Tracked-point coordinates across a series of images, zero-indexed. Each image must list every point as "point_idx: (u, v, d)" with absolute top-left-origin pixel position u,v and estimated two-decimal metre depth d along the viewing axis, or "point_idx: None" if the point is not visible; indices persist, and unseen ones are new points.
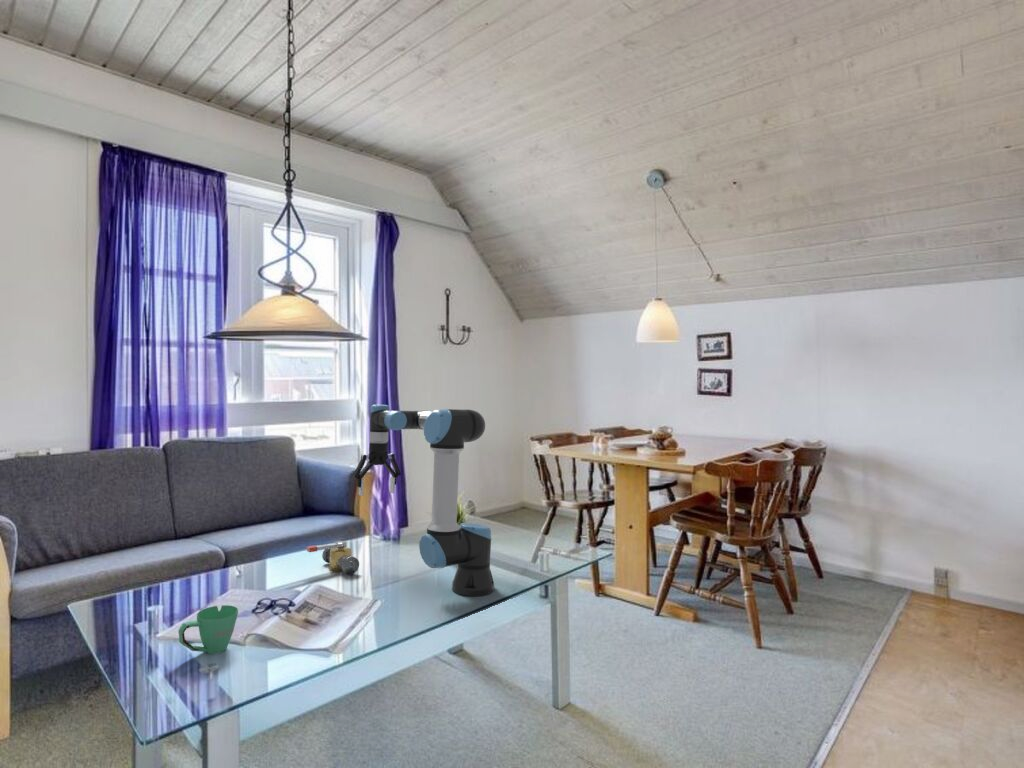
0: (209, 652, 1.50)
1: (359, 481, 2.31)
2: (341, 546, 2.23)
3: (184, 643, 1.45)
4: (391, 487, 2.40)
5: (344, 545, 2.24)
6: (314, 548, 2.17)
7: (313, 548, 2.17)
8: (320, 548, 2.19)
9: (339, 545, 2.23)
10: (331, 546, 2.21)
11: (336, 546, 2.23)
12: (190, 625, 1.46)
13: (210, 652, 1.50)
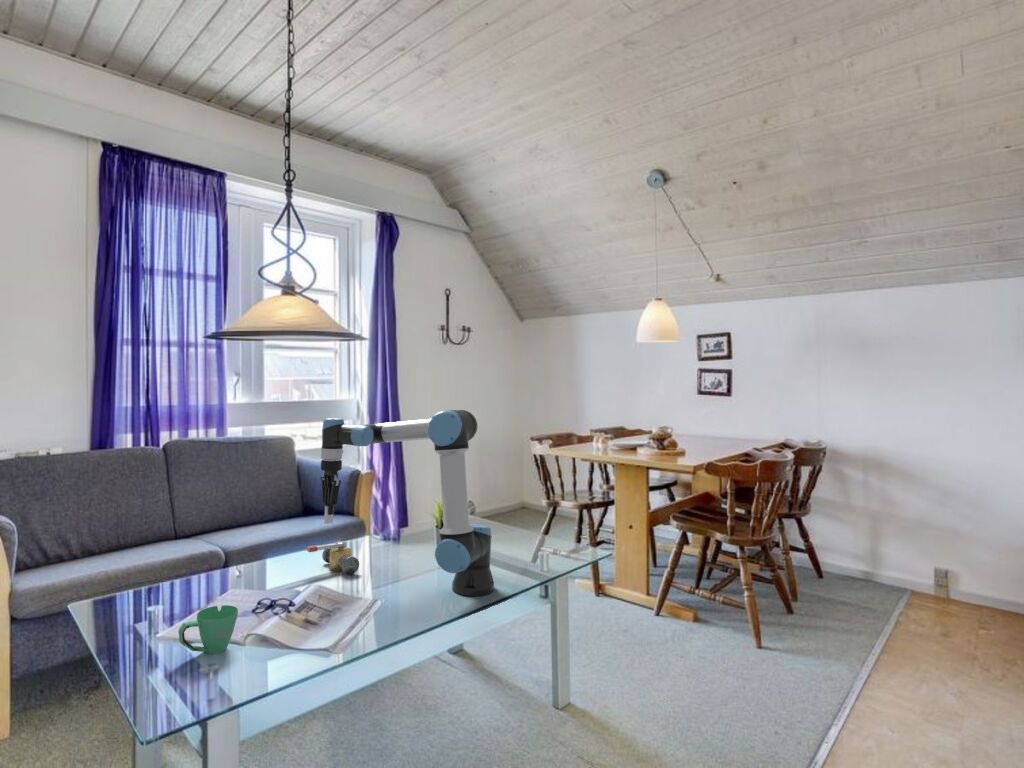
0: (209, 652, 1.50)
1: None
2: (341, 546, 2.23)
3: (184, 643, 1.45)
4: None
5: (344, 545, 2.24)
6: (314, 548, 2.17)
7: (313, 548, 2.17)
8: (320, 548, 2.19)
9: (339, 545, 2.23)
10: (331, 546, 2.21)
11: (336, 546, 2.23)
12: (190, 625, 1.46)
13: (210, 652, 1.50)
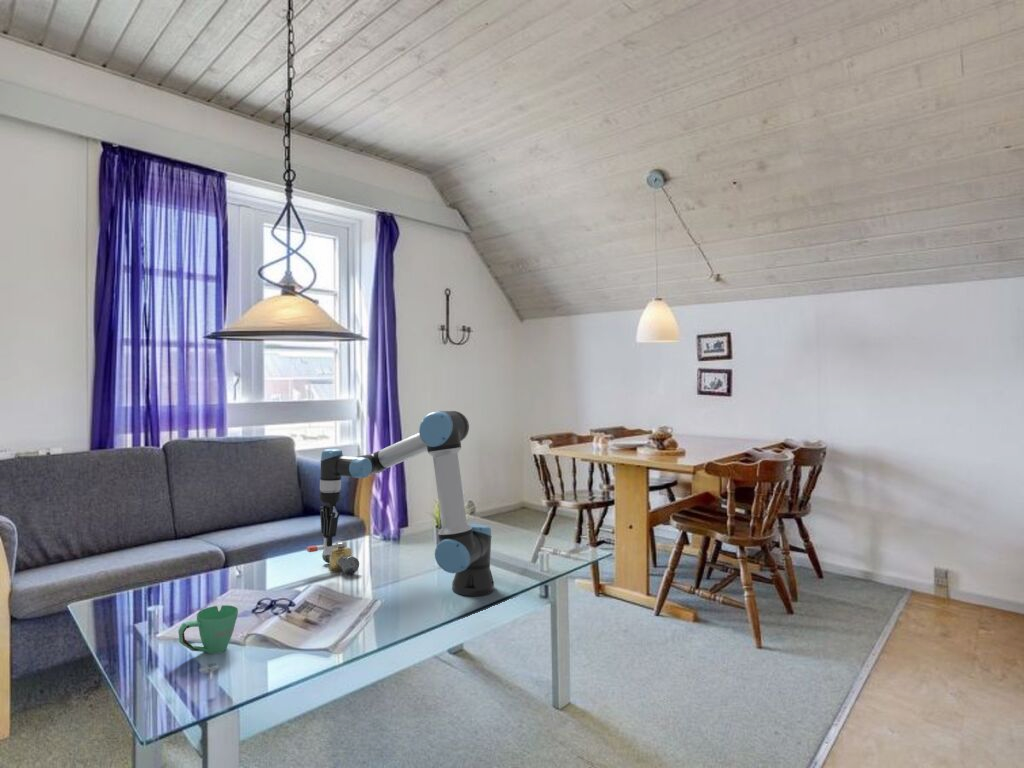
0: (209, 652, 1.50)
1: None
2: (341, 546, 2.23)
3: (184, 643, 1.45)
4: None
5: (344, 545, 2.24)
6: (314, 548, 2.17)
7: (313, 548, 2.17)
8: (320, 548, 2.19)
9: (339, 545, 2.23)
10: None
11: (336, 546, 2.23)
12: (190, 625, 1.46)
13: (210, 652, 1.50)
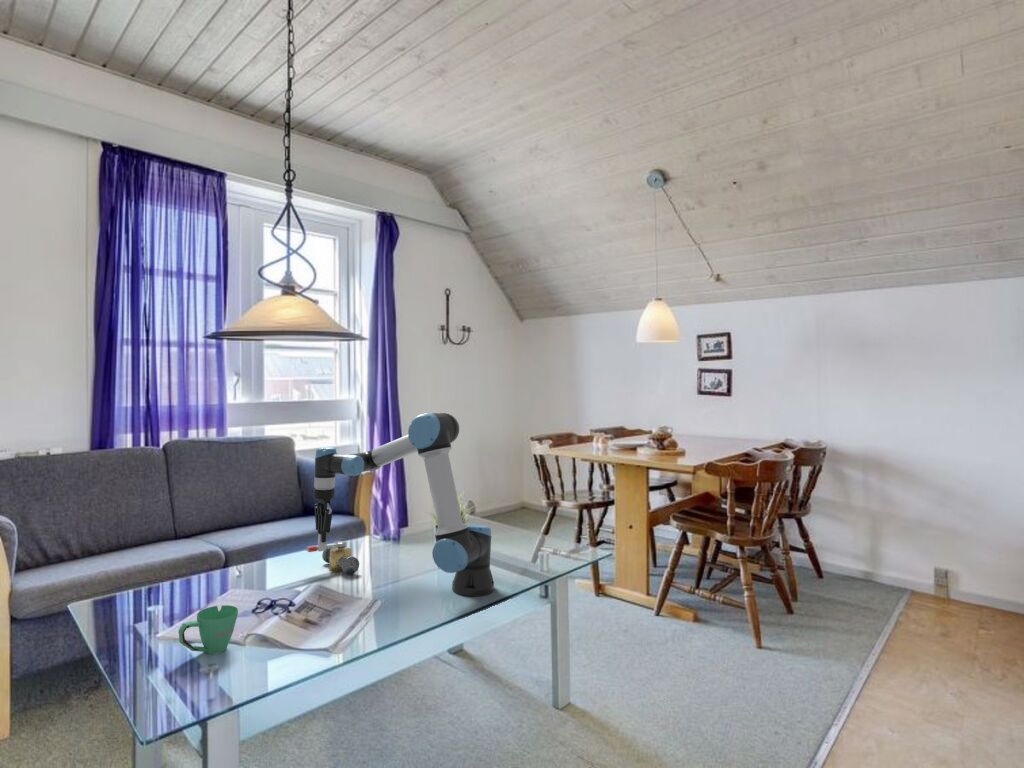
0: (209, 652, 1.50)
1: None
2: (341, 546, 2.23)
3: (184, 643, 1.45)
4: None
5: (344, 545, 2.24)
6: (314, 548, 2.17)
7: (313, 548, 2.17)
8: None
9: (339, 545, 2.23)
10: (331, 546, 2.21)
11: (336, 546, 2.23)
12: (190, 625, 1.46)
13: (210, 652, 1.50)
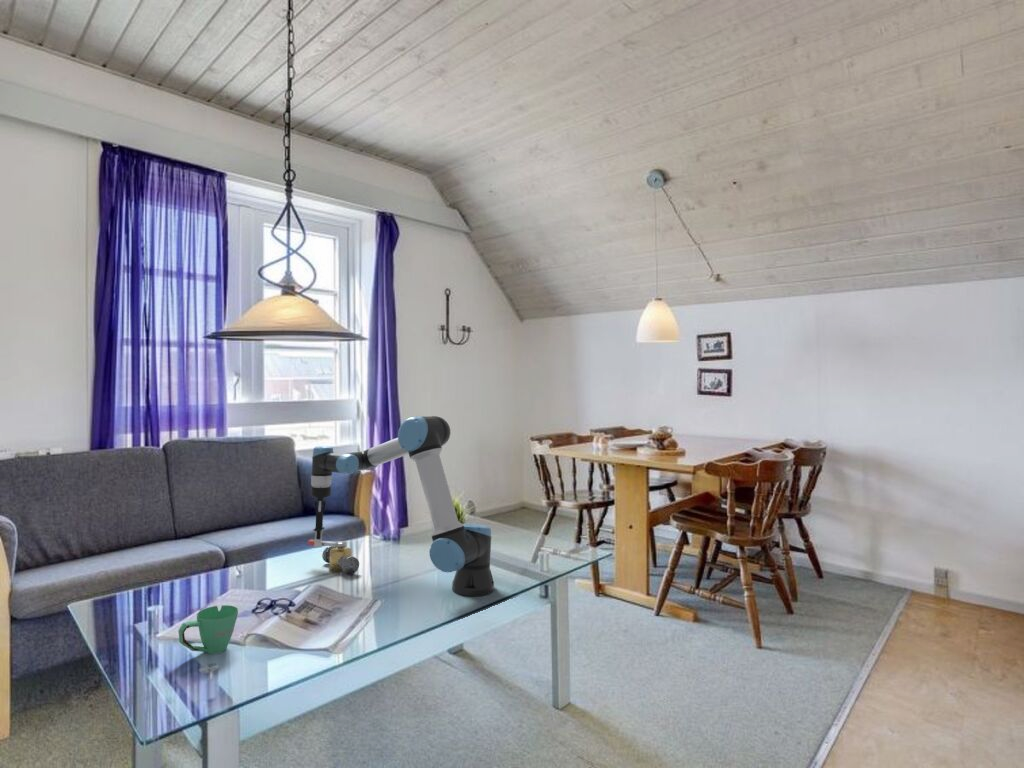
0: (209, 652, 1.50)
1: None
2: (336, 546, 2.23)
3: (184, 643, 1.45)
4: None
5: (339, 545, 2.23)
6: (312, 542, 2.25)
7: (311, 542, 2.25)
8: None
9: (335, 544, 2.24)
10: (329, 544, 2.25)
11: (333, 545, 2.24)
12: (190, 625, 1.46)
13: (210, 652, 1.50)
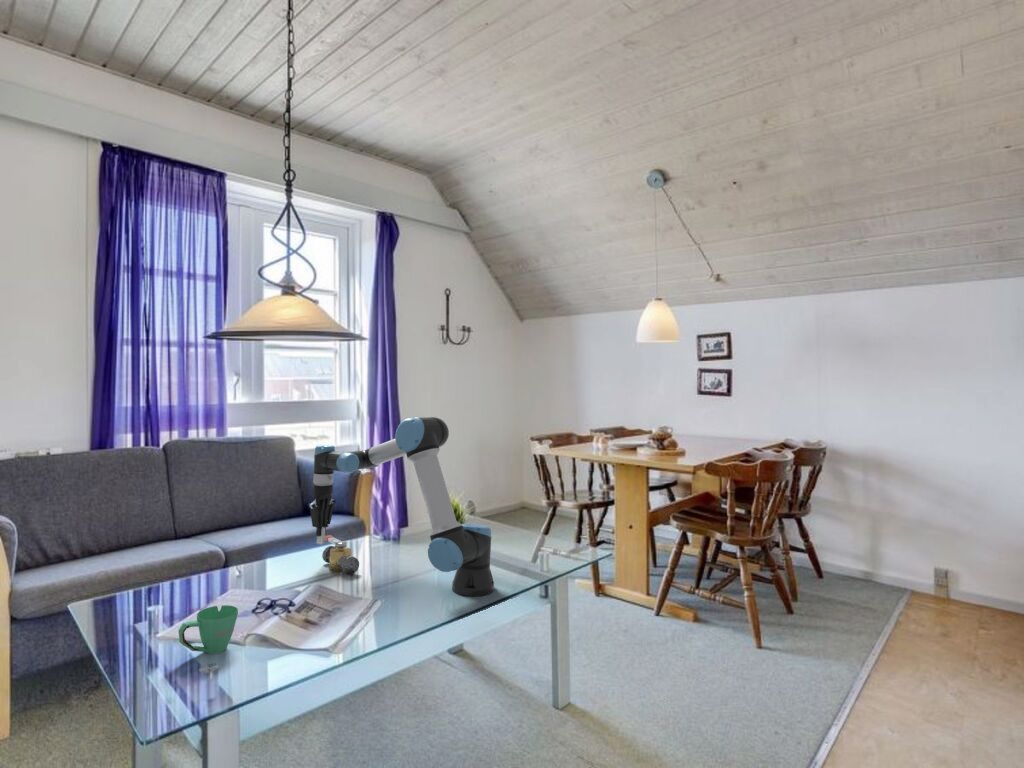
0: (209, 652, 1.50)
1: None
2: (335, 545, 2.24)
3: (184, 643, 1.45)
4: None
5: (336, 545, 2.23)
6: (325, 538, 2.33)
7: (325, 537, 2.33)
8: (328, 540, 2.31)
9: None
10: (333, 542, 2.28)
11: None
12: (190, 625, 1.46)
13: (210, 652, 1.50)
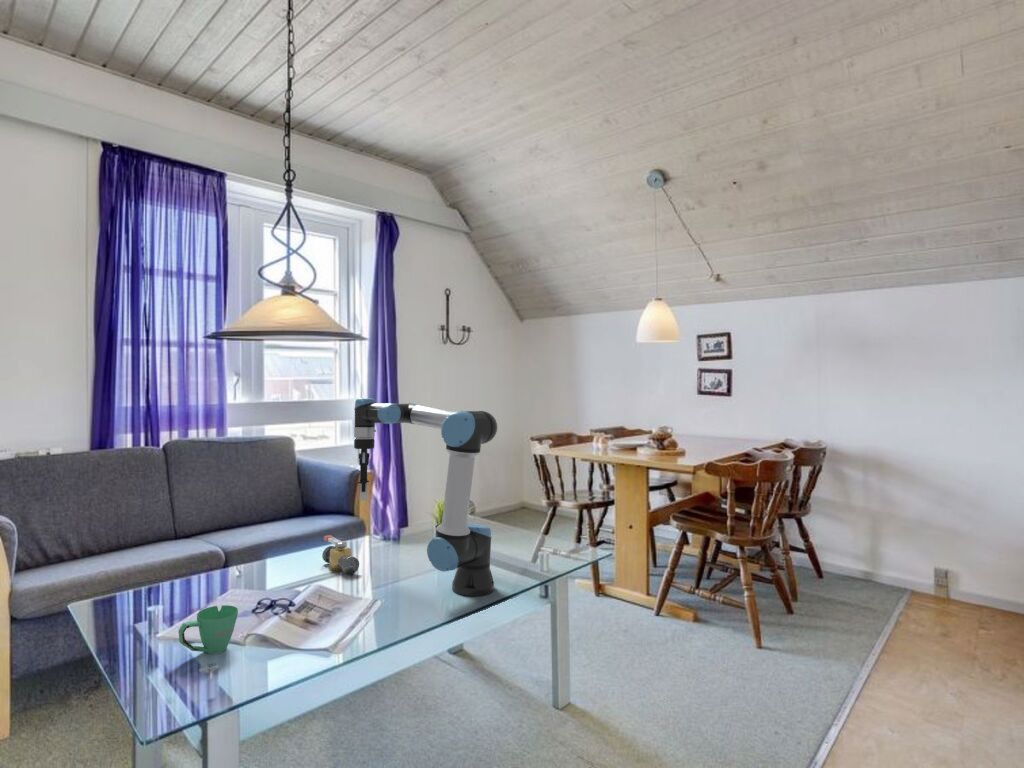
0: (209, 652, 1.50)
1: None
2: (335, 545, 2.24)
3: (184, 643, 1.45)
4: None
5: (336, 545, 2.23)
6: (325, 538, 2.33)
7: (325, 537, 2.33)
8: (328, 540, 2.31)
9: None
10: (333, 542, 2.28)
11: None
12: (190, 625, 1.46)
13: (210, 652, 1.50)
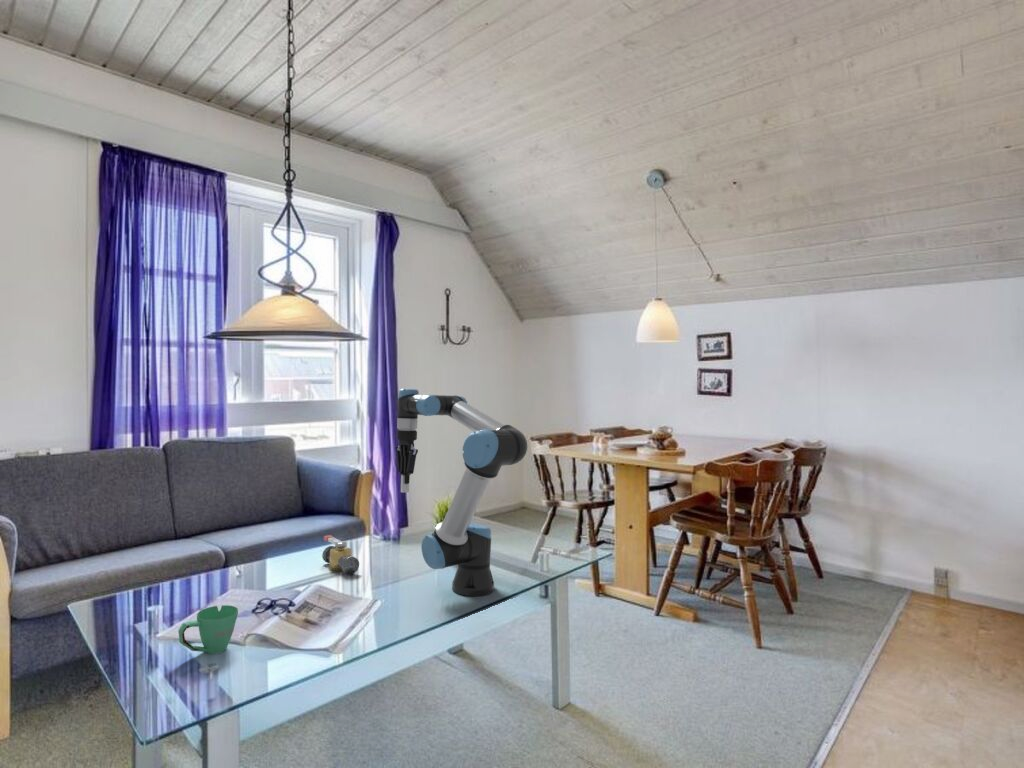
0: (209, 652, 1.50)
1: None
2: (335, 545, 2.24)
3: (184, 643, 1.45)
4: None
5: (336, 545, 2.23)
6: (325, 538, 2.33)
7: (325, 537, 2.33)
8: (328, 540, 2.31)
9: None
10: (333, 542, 2.28)
11: None
12: (190, 625, 1.46)
13: (210, 652, 1.50)
